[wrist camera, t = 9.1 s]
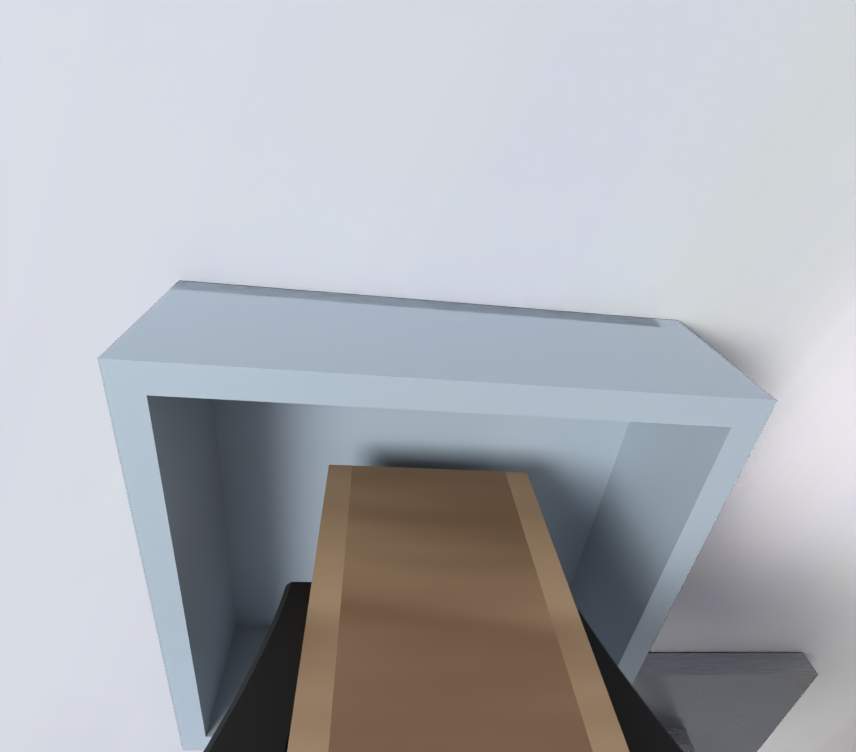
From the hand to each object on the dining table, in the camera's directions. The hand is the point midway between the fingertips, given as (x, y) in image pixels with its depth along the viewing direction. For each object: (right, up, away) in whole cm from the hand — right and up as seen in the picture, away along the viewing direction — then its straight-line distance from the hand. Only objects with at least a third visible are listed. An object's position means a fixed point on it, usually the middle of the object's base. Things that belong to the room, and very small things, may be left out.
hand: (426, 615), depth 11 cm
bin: (0, +2, +3) cm, 4 cm away
